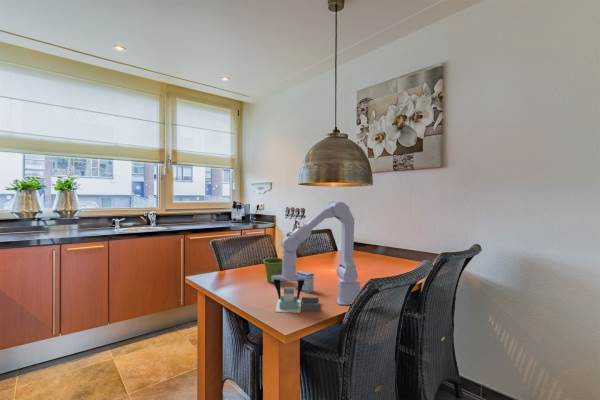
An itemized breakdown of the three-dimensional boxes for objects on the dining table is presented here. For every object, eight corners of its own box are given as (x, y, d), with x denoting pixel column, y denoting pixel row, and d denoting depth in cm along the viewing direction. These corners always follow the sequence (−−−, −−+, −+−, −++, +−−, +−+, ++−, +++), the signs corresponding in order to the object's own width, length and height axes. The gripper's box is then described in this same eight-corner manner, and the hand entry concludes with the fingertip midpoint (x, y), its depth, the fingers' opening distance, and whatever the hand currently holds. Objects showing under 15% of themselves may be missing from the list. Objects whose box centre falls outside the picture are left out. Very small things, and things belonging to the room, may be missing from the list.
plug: (293, 303, 127) (293, 287, 127) (293, 307, 123) (293, 290, 123) (284, 303, 127) (284, 287, 127) (283, 307, 123) (283, 290, 123)
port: (300, 300, 132) (300, 294, 132) (300, 312, 119) (300, 305, 119) (277, 300, 132) (277, 293, 132) (275, 312, 119) (275, 305, 119)
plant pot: (258, 282, 158) (258, 261, 158) (271, 277, 168) (271, 257, 168) (277, 286, 152) (278, 263, 152) (289, 280, 163) (289, 259, 163)
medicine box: (295, 289, 148) (295, 271, 148) (302, 287, 151) (302, 270, 151) (307, 293, 142) (307, 275, 142) (313, 291, 145) (314, 273, 145)
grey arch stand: (318, 303, 130) (318, 297, 130) (319, 310, 121) (319, 304, 121) (301, 302, 130) (301, 297, 130) (301, 310, 121) (301, 304, 121)
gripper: (270, 267, 121) (270, 301, 121) (306, 268, 121) (306, 301, 121) (272, 263, 128) (272, 295, 128) (306, 264, 128) (306, 295, 128)
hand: (288, 298), depth 125 cm, fingers open, 7 cm apart
